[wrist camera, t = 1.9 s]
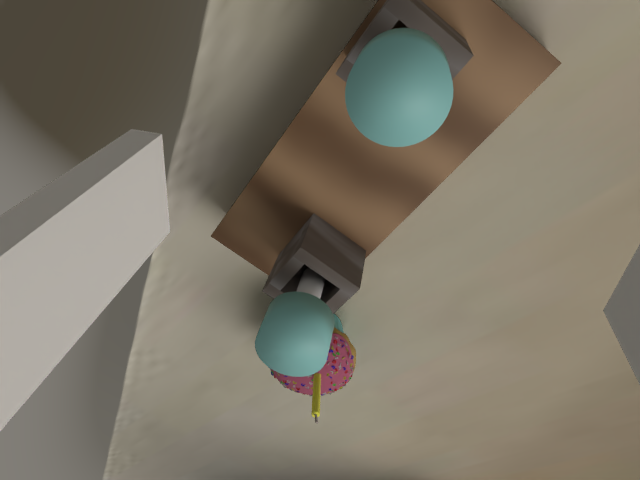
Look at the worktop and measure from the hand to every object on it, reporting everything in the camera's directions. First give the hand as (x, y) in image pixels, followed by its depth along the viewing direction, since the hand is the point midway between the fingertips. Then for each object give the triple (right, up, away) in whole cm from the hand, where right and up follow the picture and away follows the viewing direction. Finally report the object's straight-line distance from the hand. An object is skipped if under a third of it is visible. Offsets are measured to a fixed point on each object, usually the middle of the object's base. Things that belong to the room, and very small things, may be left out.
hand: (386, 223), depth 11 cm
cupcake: (-2, -9, +38) cm, 39 cm away
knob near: (+3, +10, +16) cm, 19 cm away
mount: (+2, +7, +26) cm, 28 cm away
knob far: (-2, -3, +25) cm, 25 cm away
